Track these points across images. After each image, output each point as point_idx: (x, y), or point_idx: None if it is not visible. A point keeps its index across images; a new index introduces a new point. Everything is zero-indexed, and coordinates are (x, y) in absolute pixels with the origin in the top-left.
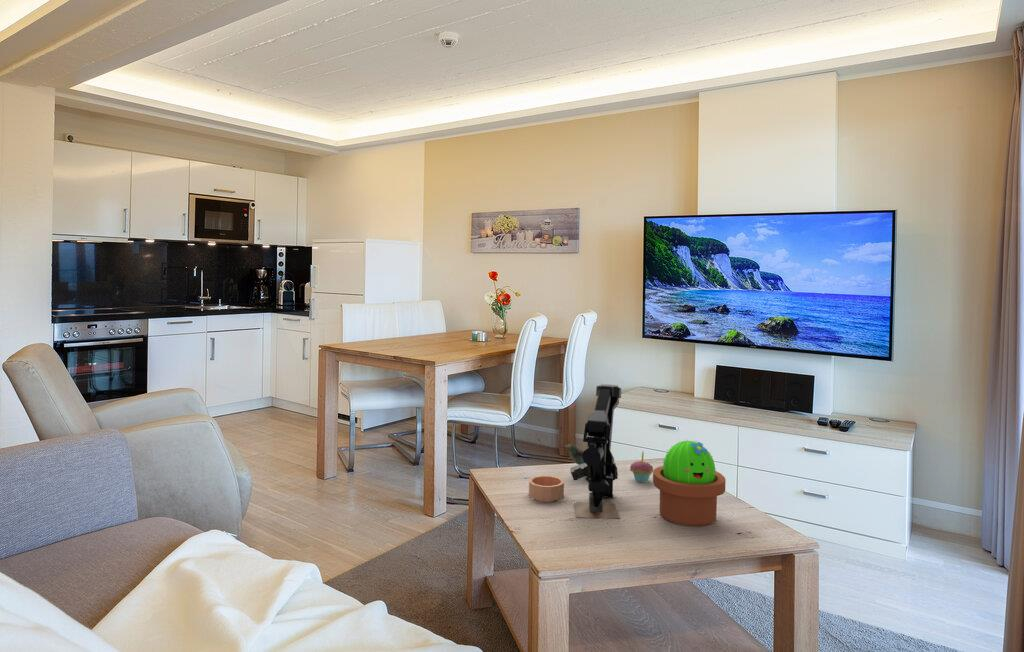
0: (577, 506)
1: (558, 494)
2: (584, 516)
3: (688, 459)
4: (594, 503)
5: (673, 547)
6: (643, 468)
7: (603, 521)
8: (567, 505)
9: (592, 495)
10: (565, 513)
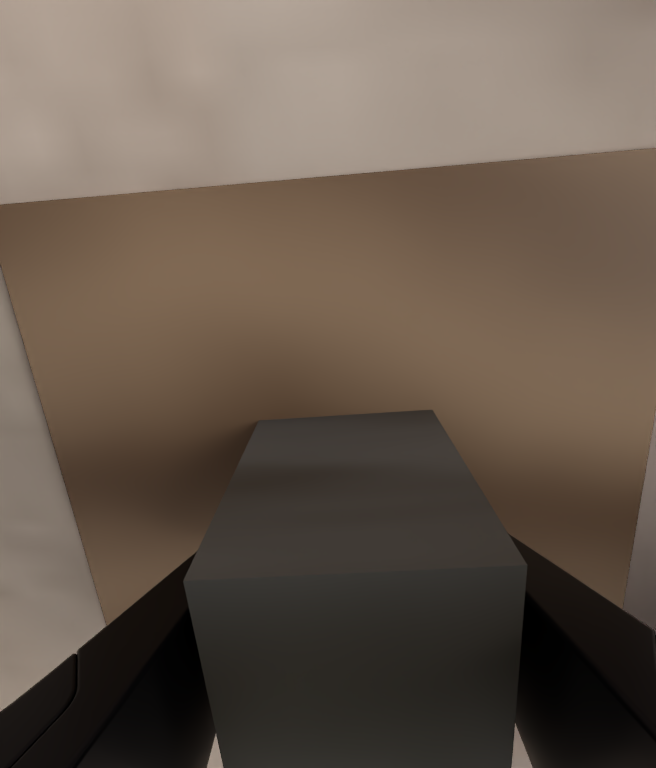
0: (456, 233)
1: None
2: (59, 343)
3: None
4: (182, 563)
5: None
6: None
7: (5, 557)
8: (522, 39)
9: (292, 630)
10: (123, 13)
